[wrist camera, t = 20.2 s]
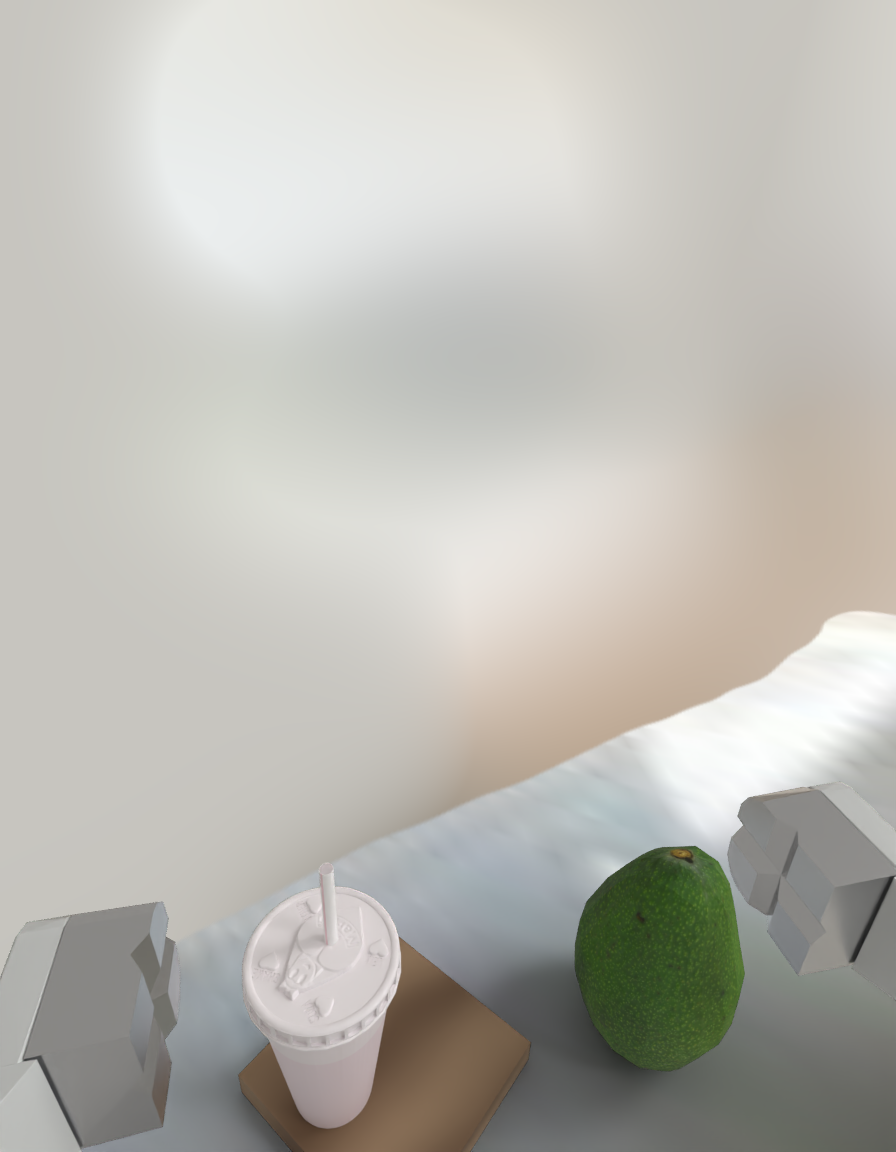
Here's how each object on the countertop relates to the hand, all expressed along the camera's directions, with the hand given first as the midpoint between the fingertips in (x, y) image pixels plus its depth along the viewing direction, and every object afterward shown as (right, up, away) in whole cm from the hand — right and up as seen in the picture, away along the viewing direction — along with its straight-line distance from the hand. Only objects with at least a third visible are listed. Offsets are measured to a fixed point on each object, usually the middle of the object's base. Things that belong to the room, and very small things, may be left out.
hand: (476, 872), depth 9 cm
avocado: (+10, -20, +26) cm, 34 cm away
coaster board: (-3, -21, +24) cm, 32 cm away
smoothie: (-6, -20, +22) cm, 30 cm away
